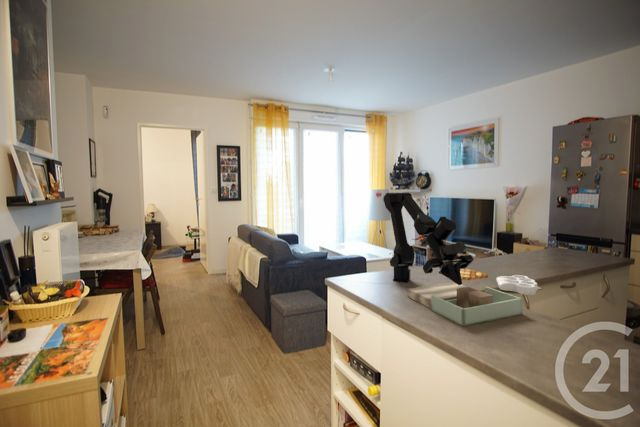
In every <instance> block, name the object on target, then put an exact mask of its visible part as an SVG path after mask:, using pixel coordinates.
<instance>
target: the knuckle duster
mask: <svg viewBox="0 0 640 427" xmlns="http://www.w3.org/2000/svg"><path fill="white" fill-rule="evenodd" d="M495 281H496V283H497V286H498V288H499V289H500V290H501V291H506V292H507V291H508V292H515V293H518V294H520V295H526V296H534V295H536V293H537V291H538V290H541V289H542V287H540V286H538V285H539V284H538V282H536V280H535V279H532V278H530V277H529V276H527V275H522V274H521V275H519V274H513V275H509V276H508V275H500V276H497V277H496V279H495Z"/></svg>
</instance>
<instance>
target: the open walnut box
mask: <svg viewBox="0 0 640 427" xmlns="http://www.w3.org/2000/svg"><path fill="white" fill-rule="evenodd" d="M490 303H493V295H490V294H487V293H485V292H484V291H481V290H479V289H476V288H473V287H470V286H467V287H464V288H457V306H459V307H461V308H463V309H464V308H469V307H474V306H480V305H485V304H490Z"/></svg>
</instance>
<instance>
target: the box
mask: <svg viewBox="0 0 640 427" xmlns="http://www.w3.org/2000/svg"><path fill="white" fill-rule="evenodd" d="M483 288H484V291H483V292H485V293H487V294H490V295H493V303H490V304H485V305H480V306H474V307H469V308H464V309H463V308H461V307H459V306H457V299H451V300H443V299H441V298H438V297H436V296H434V295H432V296H431V308H430V310H431V311H432V312H434V313H436V314H438V315H439V316H442V317H443V318H446V319H448V320H449V321H452V322H453V323H455V324H458V325H459V326H461V327H467V326H473V325H477V324H481V323H482V324H483V323H485V322H490V321H495V320H500V319H506V318H509V317H514V316H519V315H523V297H519V296H515V295H513V294H510V293H508V292H503V291H502V290H501V291H500V290H498V289H495V288H492V287H489V286H484V287H483Z"/></svg>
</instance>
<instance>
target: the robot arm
mask: <svg viewBox="0 0 640 427" xmlns="http://www.w3.org/2000/svg"><path fill="white" fill-rule="evenodd" d="M383 203H384V205H385V206H384V207H385V209H386V210H387V211H388V213H389V214H390V220H391V224H392V230H393V235H394V241H395V245H394V249H393V256H392V257H391V259H390V260H389V263H390V264H389V265H390V267H393V278H392V281H394V282H404V283H408V282H409V281H410V280H411V276H412V275H411V269H410V267H413V266H414V261H415V255H416V254H415V250H414V245H410V243H408V239H407V235H406V229H405V222H404V218H403V212H402V211H403V208H404V209H405V210H406V212H407V213H408V215H409V216H410V217H411V219H412V221H413V227H414V229H415V231H416V234H418V235H419V236H426V237H424V238H423V242H422V245H423V246H428V247H429V249H430V251H431V254H430V256H431V257H432V258H429V259H428V260H427V261H426V262H425V263H424V264H423V266H422V270H423V272H424V274H427V275H428V274H432V273H433V271H434V270H433V269H435V268H439V271H438V274H440V275H443V276H444V277H446V278H447V279H449V280H451V281H452V282H455V283H456V284H458V285H461V284H462V285H463V279H462V274H461V270H463V269H467V268H468V267H469V266H470V264H472V263H473V262H474V260H475V259H474V257H473V256H472V255H471V254H461V255H460V256H459V257H458V254H460V253H464V252H465V251H466V249H467V246H466V244H465V243H464V242H463V241H458V242H455V243H452V244H446V240H448V239H449V238H450V237H451V235H452V234H453V233H454V232H455V230H457V224H456V223H455V222H454V221H452V220H451V219H449V218H447V217H446V216H440V217H439V219H438V220H437V221H435V219H433V217H432V216H430V215H428V214H426V213H424V211H423V210H422V209H421V207H420V206H419V205H418V203H417V202H416V200H415V199H414V198H413V196H412V194H411V192H408V191H407V192H406V191H405V192H386V193H385V194H384V196H383ZM457 257H458V258H457ZM455 258H457V259H455Z"/></svg>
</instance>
